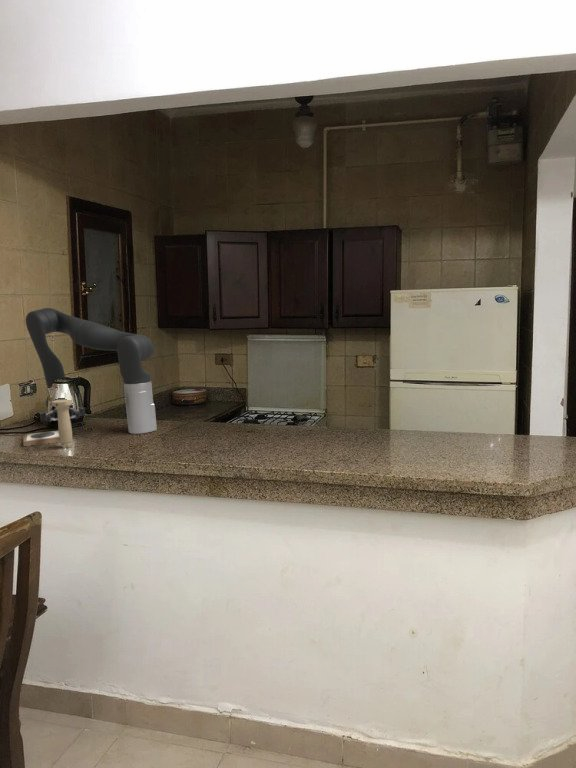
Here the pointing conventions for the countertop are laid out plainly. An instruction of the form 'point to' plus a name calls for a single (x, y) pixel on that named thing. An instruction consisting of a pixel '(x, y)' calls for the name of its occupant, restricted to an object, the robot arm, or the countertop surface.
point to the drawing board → (41, 438)
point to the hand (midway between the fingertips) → (63, 417)
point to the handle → (64, 422)
